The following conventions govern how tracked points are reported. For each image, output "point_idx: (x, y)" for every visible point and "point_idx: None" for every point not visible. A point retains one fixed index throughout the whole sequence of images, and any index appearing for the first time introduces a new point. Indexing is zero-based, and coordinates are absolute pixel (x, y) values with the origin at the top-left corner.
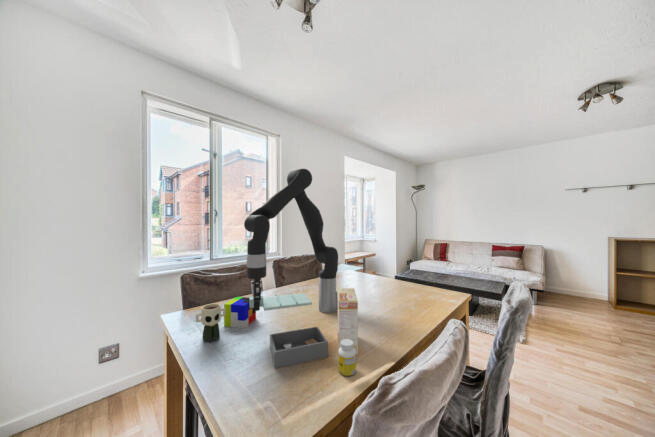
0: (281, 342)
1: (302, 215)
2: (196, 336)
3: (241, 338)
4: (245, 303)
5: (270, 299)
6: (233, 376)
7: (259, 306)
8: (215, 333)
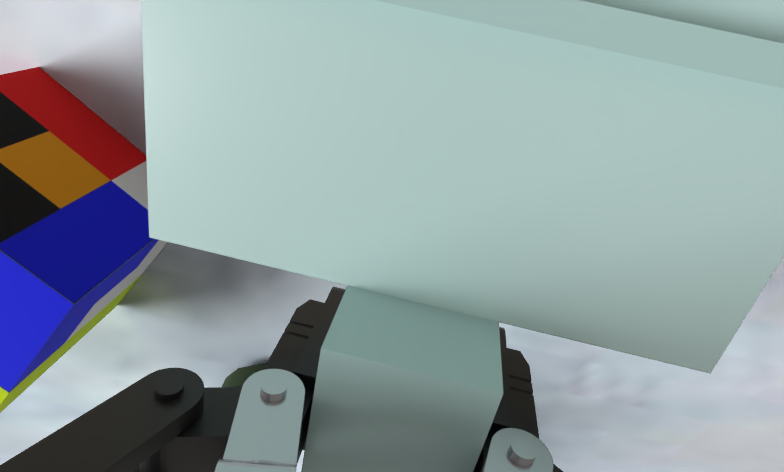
0: None
1: None
2: None
3: None
4: (5, 277)
5: (329, 133)
6: (766, 394)
7: (505, 360)
8: None
